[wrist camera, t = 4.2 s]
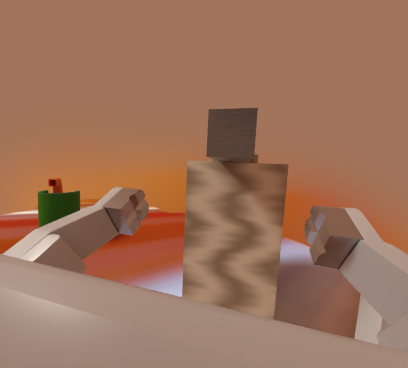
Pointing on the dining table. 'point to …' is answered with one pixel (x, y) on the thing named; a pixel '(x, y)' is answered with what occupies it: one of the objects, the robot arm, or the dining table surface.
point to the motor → (56, 203)
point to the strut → (232, 134)
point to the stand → (234, 234)
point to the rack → (368, 323)
